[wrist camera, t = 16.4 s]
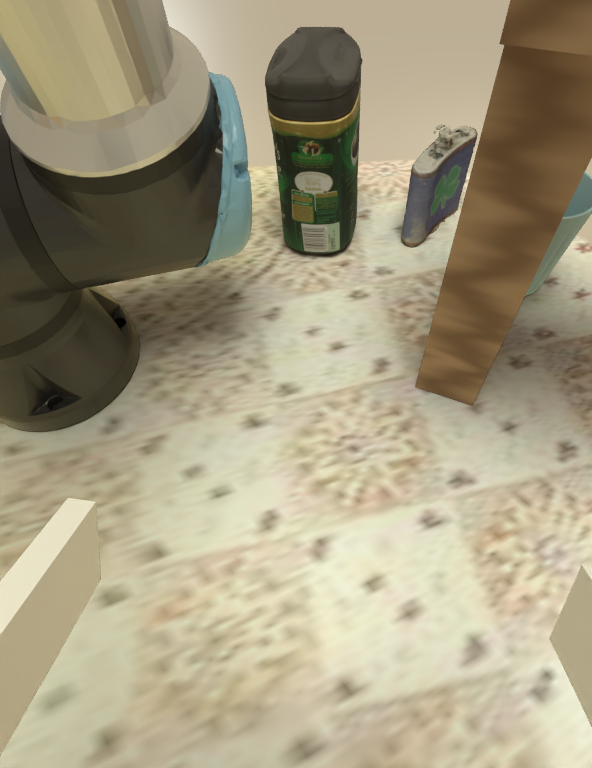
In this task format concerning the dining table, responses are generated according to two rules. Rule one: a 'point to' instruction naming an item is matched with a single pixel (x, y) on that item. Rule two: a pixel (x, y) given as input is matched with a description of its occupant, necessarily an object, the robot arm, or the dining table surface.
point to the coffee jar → (316, 136)
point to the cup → (566, 230)
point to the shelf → (514, 189)
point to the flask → (437, 182)
